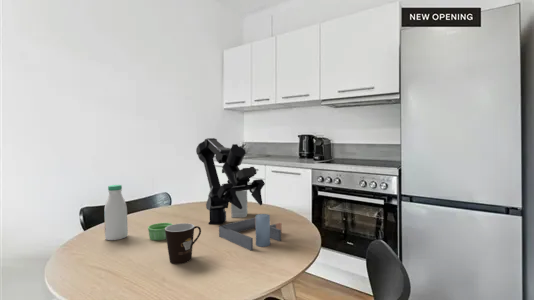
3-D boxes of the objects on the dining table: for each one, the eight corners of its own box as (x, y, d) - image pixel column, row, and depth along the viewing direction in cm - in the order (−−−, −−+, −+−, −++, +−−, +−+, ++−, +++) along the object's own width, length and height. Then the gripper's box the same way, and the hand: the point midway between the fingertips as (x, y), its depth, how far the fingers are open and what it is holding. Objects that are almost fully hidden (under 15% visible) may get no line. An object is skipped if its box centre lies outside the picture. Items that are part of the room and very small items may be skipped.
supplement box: (246, 217, 137) (246, 190, 136) (231, 217, 137) (230, 191, 137) (248, 213, 144) (247, 188, 144) (233, 213, 144) (232, 188, 144)
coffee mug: (168, 268, 83) (167, 233, 83) (163, 257, 90) (162, 225, 90) (208, 259, 88) (207, 227, 88) (200, 250, 96) (200, 220, 96)
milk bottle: (132, 235, 113) (130, 184, 112) (114, 241, 106) (112, 187, 105) (118, 233, 116) (117, 183, 115) (100, 239, 109) (98, 186, 108)
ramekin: (143, 237, 110) (143, 226, 110) (166, 232, 117) (165, 221, 117) (155, 243, 104) (154, 230, 104) (177, 236, 111) (177, 225, 111)
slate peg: (255, 246, 98) (254, 217, 98) (256, 241, 103) (256, 213, 103) (269, 246, 98) (269, 217, 98) (270, 241, 103) (270, 213, 103)
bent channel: (251, 250, 95) (250, 238, 95) (219, 236, 110) (218, 225, 110) (293, 236, 108) (293, 226, 108) (259, 225, 123) (259, 216, 123)
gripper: (220, 161, 102) (239, 196, 94) (261, 158, 115) (281, 189, 106) (210, 181, 109) (226, 216, 100) (249, 177, 121) (267, 207, 113)
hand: (251, 206), depth 105 cm, fingers open, 9 cm apart
